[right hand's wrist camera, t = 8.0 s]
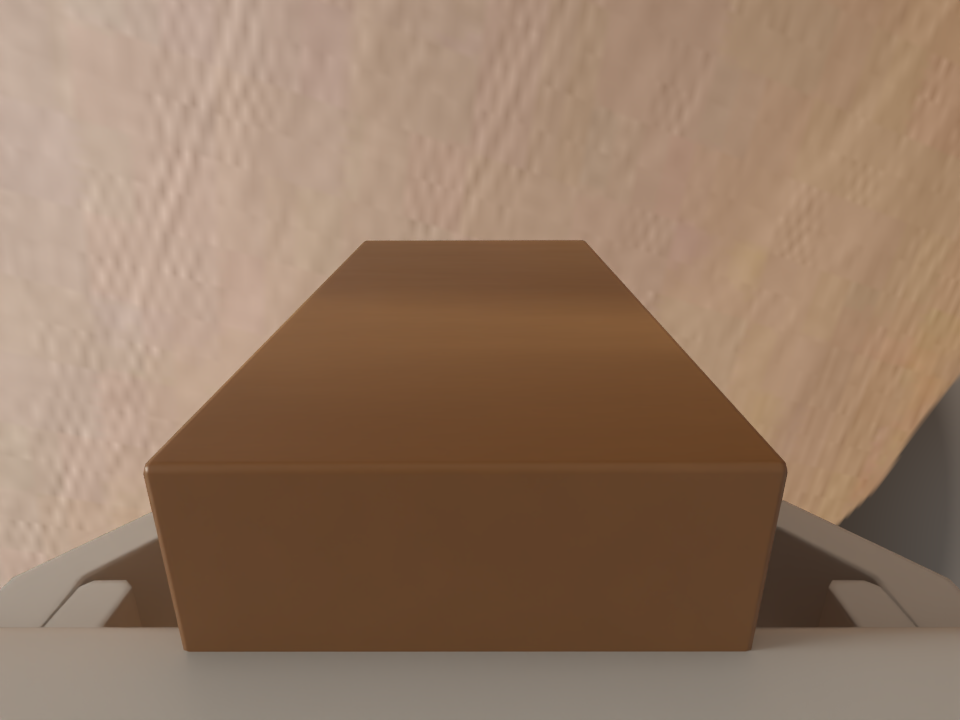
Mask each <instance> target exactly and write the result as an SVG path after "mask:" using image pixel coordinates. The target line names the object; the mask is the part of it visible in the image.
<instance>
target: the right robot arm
mask: <svg viewBox="0 0 960 720" xmlns="http://www.w3.org/2000/svg"><path fill="white" fill-rule="evenodd" d="M0 720H960V589H959V588H958V587H957V586H956V585H955V584H954V583H953V582H952V581H951V580H950V579H948V578H946V577H944V576H942V575H940V574H938V573H936V572H934V571H932V570H929V569H927V568H925V567H923V566H921V565H919V564H917V563H915V562H913V561H910V560H908V559H906V558H904V557H902V556H900V555H898V554H896V553H893V552H891V551H889V550H887V549H885V548H883V547H881V546H879V545H877V544H875V543H872V542H870V541H868V540H866V539H864V538H862V537H860V536H858V535H856V534H853V533H851V532H849V531H847V530H845V529H843V528H841V527H839V526H837V525H834V524H832V523H830V522H828V521H826V520H824V519H822V518H820V517H818V516H816V515H813V514H811V513H809V512H807V511H805V510H803V509H801V508H799V507H797V506H794V505H792V504H790V503H788V502H786V501H782V502H781V507H780V511H779V516H778V521H777V526H776V531H775V536H774V541H773V546H772V551H771V555H770V560H769V565H768V570H767V575H766V580H765V585H764V590H763V595H762V599H761V604H760V609H759V614H758V619H757V624H756V629H755V634H754V639H753V643H752V648H751V650H749V651H746V652H188V651H185V650H184V649H183V645H182V641H181V636H180V632H179V627H178V623H177V619H176V614H175V610H174V606H173V601H172V597H171V592H170V588H169V584H168V579H167V575H166V570H165V566H164V562H163V557H162V553H161V549H160V544H159V540H158V535H157V531H156V527H155V522H154V518H153V513H152V512H151V513H149V514H146V515H144V516H142V517H140V518H138V519H136V520H134V521H132V522H129V523H127V524H125V525H123V526H121V527H119V528H117V529H115V530H113V531H110V532H108V533H106V534H104V535H102V536H100V537H98V538H96V539H94V540H91V541H89V542H87V543H85V544H83V545H81V546H79V547H77V548H74V549H72V550H70V551H68V552H66V553H64V554H62V555H60V556H58V557H55V558H53V559H51V560H49V561H47V562H45V563H43V564H41V565H38V566H36V567H34V568H32V569H30V570H28V571H26V572H24V573H22V574H19V575H17V576H15V577H13V578H12V579H11V580H10V581H9V582H8V583H7V584H6V585H4V586H3V587H2V588H1V589H0Z"/></svg>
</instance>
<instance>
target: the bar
mask: <svg viewBox="0 0 960 720" xmlns="http://www.w3.org/2000/svg"><path fill="white" fill-rule="evenodd" d="M786 477H787V467H786V463H785V462H784V461H783V459H782V458H781V457H780V456H779V455H778V454H777V453H776V452H775V451H774V449H773V448H772V447H771V446H770V445H769V444H768V443H767V442H766V441H765V440H764V438H763V437H762V436H761V435H760V434H759V433H758V432H757V431H756V430H755V429H754V427H753V426H752V425H751V424H750V423H749V422H748V421H747V420H746V419H745V417H744V416H743V415H742V414H741V413H740V412H739V411H738V410H737V409H736V408H735V406H734V405H733V404H732V403H731V402H730V401H729V400H728V399H727V398H726V396H725V395H724V394H723V393H722V392H721V391H720V390H719V389H718V388H717V387H716V385H715V384H714V383H713V382H712V381H711V380H710V379H709V378H708V377H707V375H706V374H705V373H704V372H703V371H702V370H701V369H700V368H699V367H698V366H697V364H696V363H695V362H694V361H693V360H692V359H691V358H690V357H689V356H688V354H687V353H686V352H685V351H684V350H683V349H682V348H681V347H680V346H679V345H678V343H677V342H676V341H675V340H674V339H673V338H672V337H671V336H670V335H669V333H668V332H667V331H666V330H665V329H664V328H663V327H662V326H661V325H660V324H659V322H658V321H657V320H656V319H655V318H654V317H653V316H652V315H651V314H650V312H649V311H648V310H647V309H646V308H645V307H644V306H643V305H642V304H641V303H640V301H639V300H638V299H637V298H636V297H635V296H634V295H633V294H632V293H631V291H630V290H629V289H628V288H627V287H626V286H625V285H624V284H623V283H622V282H621V280H620V279H619V278H618V277H617V276H616V275H615V274H614V273H613V272H612V270H611V269H610V268H609V267H608V266H607V265H606V264H605V263H604V262H603V261H602V259H601V258H600V257H599V256H598V255H597V254H596V253H595V252H594V251H593V249H592V248H591V247H590V246H589V245H588V244H587V243H586V242H585V241H583V240H522V241H365V242H363V243H362V244H361V246H360V247H359V248H358V249H357V250H356V251H355V252H354V253H353V254H352V255H351V256H350V257H349V258H348V259H347V260H346V261H345V262H344V263H343V264H342V265H341V266H340V267H339V268H338V269H337V270H336V271H335V272H334V273H333V274H332V275H331V276H330V277H329V278H328V279H327V280H326V281H325V282H324V283H323V284H322V285H321V286H320V287H319V288H318V289H317V290H316V291H315V292H314V293H313V294H312V295H311V296H310V297H309V298H308V299H307V300H306V301H305V302H304V303H303V304H302V305H301V306H300V307H299V309H298V310H297V311H296V312H295V313H294V314H293V315H292V316H291V317H290V318H289V319H288V320H287V321H286V322H285V323H284V324H283V325H282V326H281V327H280V328H279V329H278V330H277V331H276V332H275V333H274V334H273V335H272V336H271V337H270V338H269V339H268V340H267V341H266V342H265V343H264V344H263V345H262V346H261V347H260V348H259V349H258V350H257V351H256V352H255V353H254V354H253V355H252V356H251V357H250V358H249V359H248V360H247V361H246V362H245V363H244V364H243V365H242V366H241V367H240V368H239V369H238V370H237V372H236V373H235V374H234V375H233V376H232V377H231V378H230V379H229V380H228V381H227V382H226V383H225V384H224V385H223V386H222V387H221V388H220V389H219V390H218V391H217V392H216V393H215V394H214V395H213V396H212V397H211V398H210V399H209V400H208V401H207V402H206V403H205V404H204V405H203V406H202V407H201V408H200V409H199V410H198V411H197V412H196V413H195V414H194V415H193V416H192V417H191V418H190V419H189V420H188V421H187V422H186V423H185V424H184V425H183V426H182V427H181V428H180V429H179V430H178V431H177V432H176V433H175V435H174V436H173V437H172V438H171V439H170V440H169V441H168V442H167V443H166V444H165V445H164V446H163V447H162V448H161V449H160V450H159V451H158V452H157V453H156V454H155V455H154V456H153V457H152V458H151V459H150V460H149V461H148V462H147V463H146V465H145V468H144V478H145V483H146V487H147V492H148V496H149V500H150V505H151V509H152V513H153V518H154V522H155V527H156V531H157V535H158V540H159V544H160V549H161V553H162V557H163V562H164V566H165V570H166V575H167V579H168V584H169V588H170V592H171V597H172V601H173V606H174V610H175V614H176V619H177V623H178V627H179V632H180V636H181V641H182V645H183V649H184V650H185V651H188V652H746V651H749V650H751V648H752V643H753V639H754V634H755V629H756V624H757V619H758V614H759V609H760V604H761V599H762V595H763V590H764V585H765V580H766V575H767V570H768V565H769V560H770V555H771V551H772V546H773V541H774V536H775V531H776V526H777V521H778V516H779V511H780V507H781V502H782V497H783V492H784V487H785V482H786Z"/></svg>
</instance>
